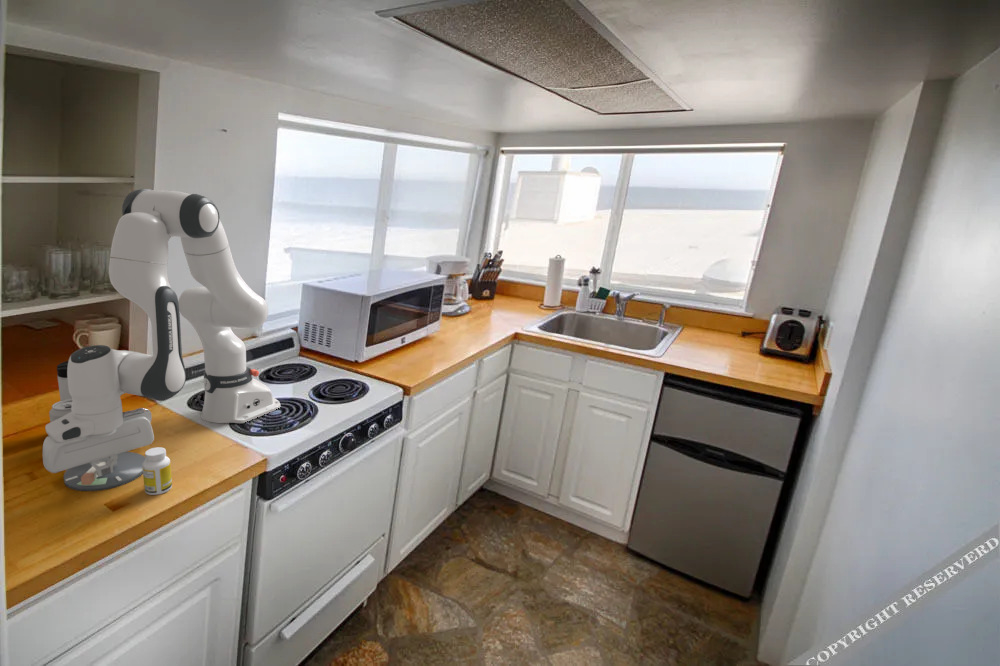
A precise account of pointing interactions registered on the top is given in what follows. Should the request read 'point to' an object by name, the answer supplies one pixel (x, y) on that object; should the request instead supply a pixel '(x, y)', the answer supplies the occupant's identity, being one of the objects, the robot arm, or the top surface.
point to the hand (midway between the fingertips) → (104, 473)
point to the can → (60, 409)
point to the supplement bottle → (156, 471)
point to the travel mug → (63, 381)
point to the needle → (94, 472)
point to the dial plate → (122, 474)
